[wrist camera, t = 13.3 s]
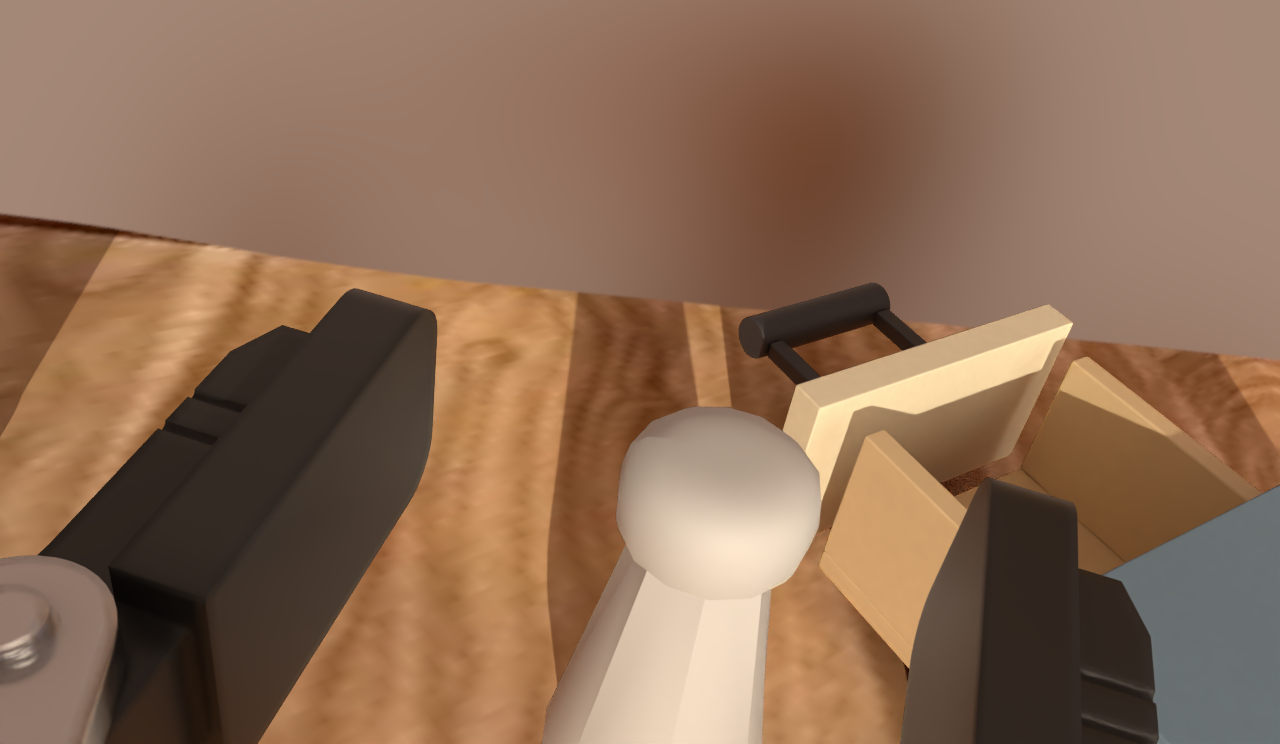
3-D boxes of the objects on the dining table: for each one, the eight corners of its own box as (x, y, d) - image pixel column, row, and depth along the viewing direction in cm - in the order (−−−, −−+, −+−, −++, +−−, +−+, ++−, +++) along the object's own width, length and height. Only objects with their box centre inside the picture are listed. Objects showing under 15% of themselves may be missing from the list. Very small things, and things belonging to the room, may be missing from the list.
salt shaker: (662, 675, 36) (753, 337, 27) (784, 829, 32) (928, 496, 24) (492, 762, 33) (537, 410, 24) (608, 942, 29) (705, 604, 21)
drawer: (660, 419, 43) (689, 279, 39) (889, 346, 49) (936, 217, 45) (1049, 870, 32) (1147, 735, 28) (1292, 707, 37) (1402, 575, 33)
